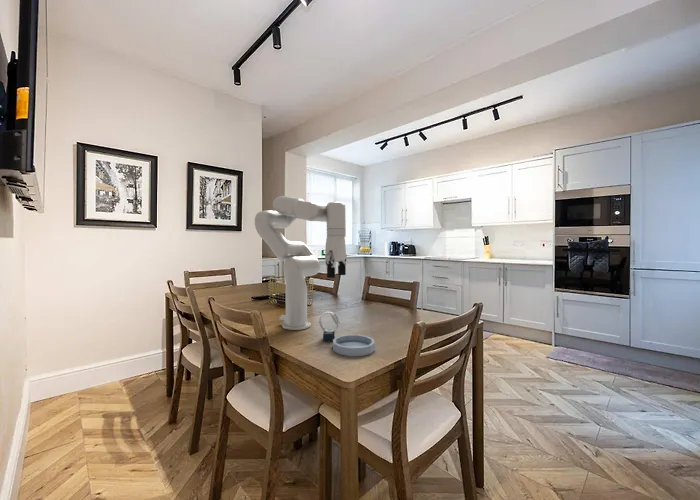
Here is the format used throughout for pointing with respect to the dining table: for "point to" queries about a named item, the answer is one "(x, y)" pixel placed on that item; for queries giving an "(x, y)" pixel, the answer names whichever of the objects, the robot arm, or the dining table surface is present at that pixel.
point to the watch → (329, 334)
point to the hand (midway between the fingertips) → (336, 276)
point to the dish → (353, 345)
